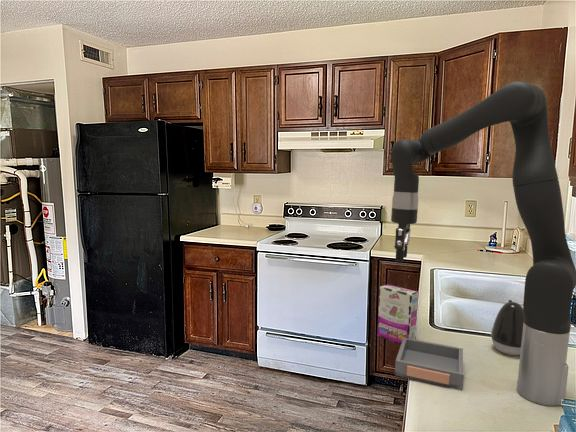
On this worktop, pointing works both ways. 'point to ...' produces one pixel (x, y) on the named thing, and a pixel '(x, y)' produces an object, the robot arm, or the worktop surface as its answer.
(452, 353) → the labelled tray
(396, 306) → the candy bar box
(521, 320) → the black rounded cone
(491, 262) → the worktop surface
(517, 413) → the worktop surface
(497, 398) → the worktop surface
